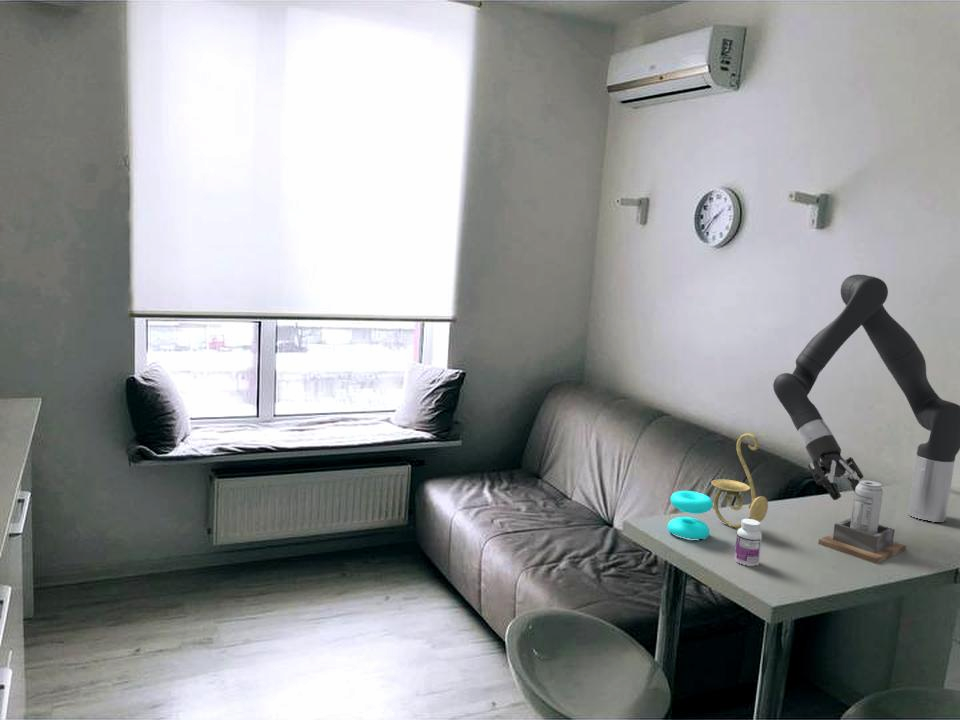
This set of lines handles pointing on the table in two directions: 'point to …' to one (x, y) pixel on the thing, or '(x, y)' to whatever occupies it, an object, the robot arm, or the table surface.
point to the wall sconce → (741, 489)
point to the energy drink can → (867, 506)
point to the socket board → (863, 542)
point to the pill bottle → (748, 543)
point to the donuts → (690, 504)
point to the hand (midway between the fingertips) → (849, 497)
